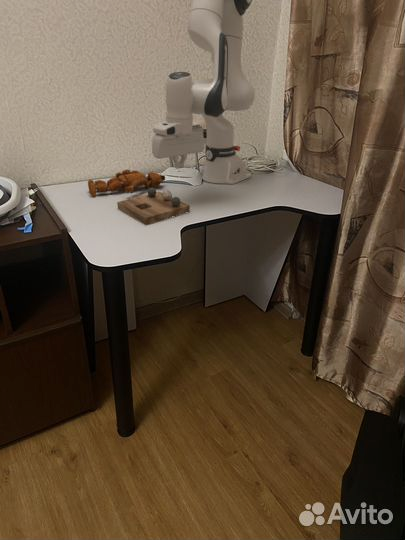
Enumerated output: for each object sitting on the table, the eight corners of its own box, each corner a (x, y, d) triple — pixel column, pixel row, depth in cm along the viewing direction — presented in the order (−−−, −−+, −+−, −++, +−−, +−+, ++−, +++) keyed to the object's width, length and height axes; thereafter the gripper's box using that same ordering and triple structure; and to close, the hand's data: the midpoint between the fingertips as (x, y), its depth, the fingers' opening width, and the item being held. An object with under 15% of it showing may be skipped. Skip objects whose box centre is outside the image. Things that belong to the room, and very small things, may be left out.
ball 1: (153, 194, 146) (152, 185, 144) (158, 196, 144) (157, 188, 142) (145, 195, 144) (145, 187, 142) (150, 198, 142) (150, 189, 140)
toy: (95, 206, 145) (172, 193, 154) (92, 188, 141) (171, 176, 150) (87, 189, 160) (158, 179, 170) (84, 172, 157) (156, 163, 166)
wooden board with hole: (159, 198, 150) (159, 191, 148) (189, 212, 138) (189, 205, 137) (117, 208, 139) (117, 202, 138) (146, 225, 128) (145, 217, 126)
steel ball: (168, 197, 143) (167, 188, 141) (173, 200, 141) (173, 190, 139) (160, 199, 141) (159, 190, 139) (166, 202, 139) (165, 192, 137)
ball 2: (176, 203, 138) (176, 194, 136) (182, 206, 136) (182, 197, 134) (169, 205, 136) (169, 196, 134) (174, 208, 134) (174, 199, 132)
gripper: (197, 122, 140) (196, 162, 146) (148, 127, 128) (150, 170, 135) (208, 125, 136) (207, 165, 142) (160, 130, 124) (161, 174, 130)
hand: (179, 168), depth 138 cm, fingers closed
